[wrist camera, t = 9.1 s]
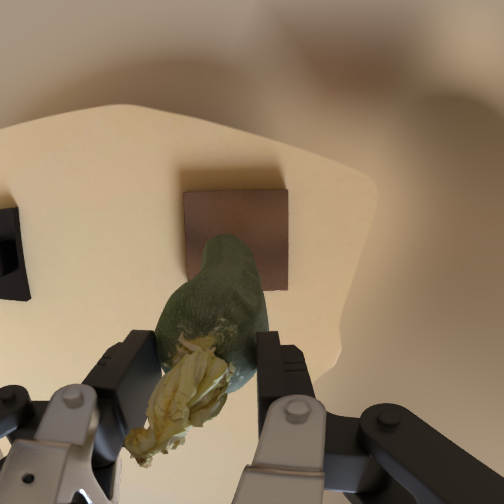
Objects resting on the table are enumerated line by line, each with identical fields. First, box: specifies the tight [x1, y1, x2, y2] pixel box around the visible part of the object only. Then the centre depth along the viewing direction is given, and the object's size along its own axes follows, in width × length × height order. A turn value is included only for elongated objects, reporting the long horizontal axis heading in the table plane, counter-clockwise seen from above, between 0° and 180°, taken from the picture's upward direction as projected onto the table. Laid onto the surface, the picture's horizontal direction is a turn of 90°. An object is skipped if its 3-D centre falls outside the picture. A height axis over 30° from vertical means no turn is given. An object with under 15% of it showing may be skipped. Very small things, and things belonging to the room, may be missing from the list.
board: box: [183, 189, 288, 291], centre depth 32 cm, size 10×10×2 cm
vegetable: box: [123, 234, 269, 468], centre depth 15 cm, size 4×4×20 cm
